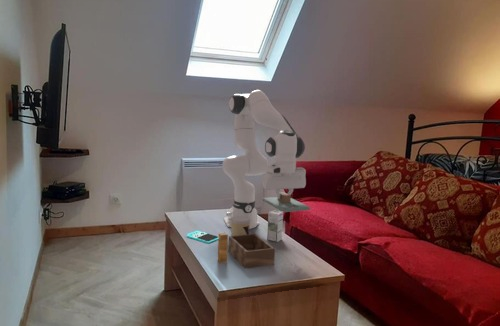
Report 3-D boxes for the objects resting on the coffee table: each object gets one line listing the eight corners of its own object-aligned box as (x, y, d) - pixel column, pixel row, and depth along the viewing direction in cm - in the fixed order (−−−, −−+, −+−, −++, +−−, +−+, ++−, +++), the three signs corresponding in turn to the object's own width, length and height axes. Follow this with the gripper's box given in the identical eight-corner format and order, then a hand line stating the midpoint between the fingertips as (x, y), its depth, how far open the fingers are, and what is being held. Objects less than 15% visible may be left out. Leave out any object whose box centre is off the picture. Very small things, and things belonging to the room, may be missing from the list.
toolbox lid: (262, 200, 188) (263, 190, 187) (287, 198, 193) (288, 189, 192) (283, 212, 170) (283, 201, 169) (310, 210, 175) (310, 199, 174)
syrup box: (282, 239, 206) (283, 211, 204) (276, 242, 201) (278, 214, 199) (272, 237, 209) (273, 209, 207) (266, 240, 204) (268, 212, 202)
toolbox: (228, 253, 185) (228, 236, 184) (254, 250, 190) (255, 233, 189) (245, 270, 167) (246, 252, 166) (273, 266, 172) (274, 248, 171)
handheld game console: (197, 232, 213) (197, 229, 213) (221, 239, 204) (222, 236, 204) (184, 237, 205) (184, 234, 205) (209, 244, 196) (209, 242, 196)
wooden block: (217, 262, 174) (218, 233, 172) (224, 261, 175) (225, 232, 173) (219, 265, 171) (220, 235, 169) (226, 264, 172) (227, 234, 170)
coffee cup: (247, 246, 194) (248, 222, 193) (228, 244, 196) (228, 220, 194) (251, 240, 203) (252, 216, 202) (232, 238, 205) (233, 214, 203)
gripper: (302, 165, 187) (300, 195, 189) (261, 167, 179) (260, 197, 181) (309, 168, 182) (307, 198, 184) (268, 169, 173) (266, 201, 176)
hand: (283, 198), depth 182 cm, fingers closed on toolbox lid, 3 cm apart
